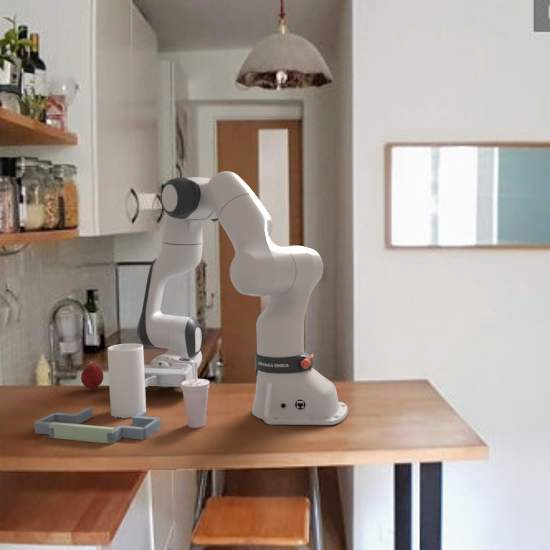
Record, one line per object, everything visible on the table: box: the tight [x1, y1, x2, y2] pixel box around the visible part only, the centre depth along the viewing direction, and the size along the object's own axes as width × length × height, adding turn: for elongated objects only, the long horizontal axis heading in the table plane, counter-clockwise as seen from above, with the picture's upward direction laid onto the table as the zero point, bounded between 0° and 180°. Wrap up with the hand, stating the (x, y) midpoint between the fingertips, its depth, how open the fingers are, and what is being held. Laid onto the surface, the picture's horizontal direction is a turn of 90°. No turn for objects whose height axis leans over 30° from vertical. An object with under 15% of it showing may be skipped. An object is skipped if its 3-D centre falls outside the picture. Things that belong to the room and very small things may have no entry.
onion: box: [80, 361, 104, 392], centre depth 156 cm, size 6×6×8 cm
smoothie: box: [180, 362, 211, 429], centre depth 126 cm, size 6×6×14 cm
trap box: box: [34, 407, 162, 445], centre depth 125 cm, size 26×14×3 cm, turn 73°
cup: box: [107, 342, 147, 419], centre depth 136 cm, size 8×8×16 cm
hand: (139, 383), depth 141 cm, fingers closed
